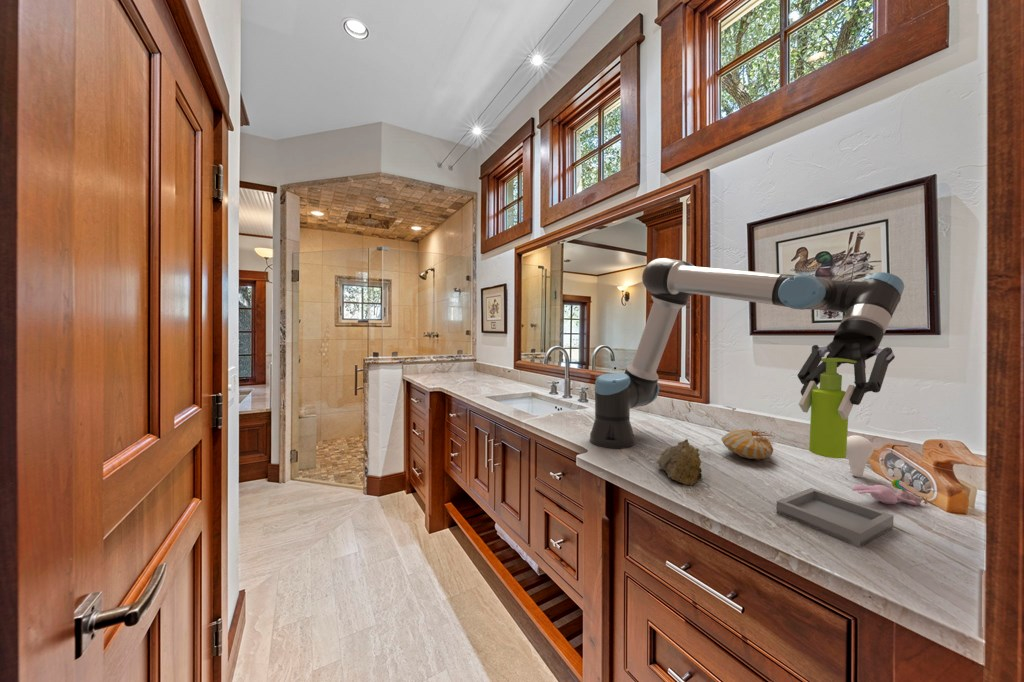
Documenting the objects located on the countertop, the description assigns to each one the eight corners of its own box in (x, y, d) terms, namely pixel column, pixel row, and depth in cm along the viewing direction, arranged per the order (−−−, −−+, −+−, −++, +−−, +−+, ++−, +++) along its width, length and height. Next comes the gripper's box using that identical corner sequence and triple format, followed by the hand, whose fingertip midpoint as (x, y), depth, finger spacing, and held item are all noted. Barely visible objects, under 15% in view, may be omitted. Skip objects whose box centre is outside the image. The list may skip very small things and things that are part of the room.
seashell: (682, 468, 108) (680, 433, 109) (716, 484, 94) (713, 444, 94) (647, 471, 106) (644, 436, 107) (676, 488, 92) (673, 448, 93)
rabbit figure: (904, 502, 87) (841, 492, 87) (909, 477, 87) (846, 467, 87) (934, 515, 81) (866, 505, 81) (940, 489, 80) (872, 478, 80)
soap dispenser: (859, 459, 73) (865, 360, 72) (819, 457, 75) (824, 359, 73) (839, 449, 79) (844, 356, 78) (803, 447, 80) (807, 356, 79)
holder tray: (776, 512, 80) (776, 501, 80) (810, 498, 86) (811, 487, 86) (859, 547, 67) (860, 533, 67) (893, 528, 73) (893, 515, 73)
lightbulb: (879, 481, 95) (881, 439, 94) (855, 481, 95) (857, 439, 94) (857, 471, 101) (858, 432, 101) (835, 472, 101) (836, 432, 101)
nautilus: (754, 445, 125) (802, 463, 111) (707, 449, 117) (752, 469, 103) (756, 422, 125) (805, 437, 111) (710, 425, 117) (756, 441, 103)
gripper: (927, 342, 74) (890, 434, 68) (816, 340, 91) (778, 413, 85) (917, 316, 72) (878, 409, 65) (805, 318, 89) (764, 392, 82)
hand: (821, 411), depth 75 cm, fingers closed on soap dispenser, 6 cm apart
